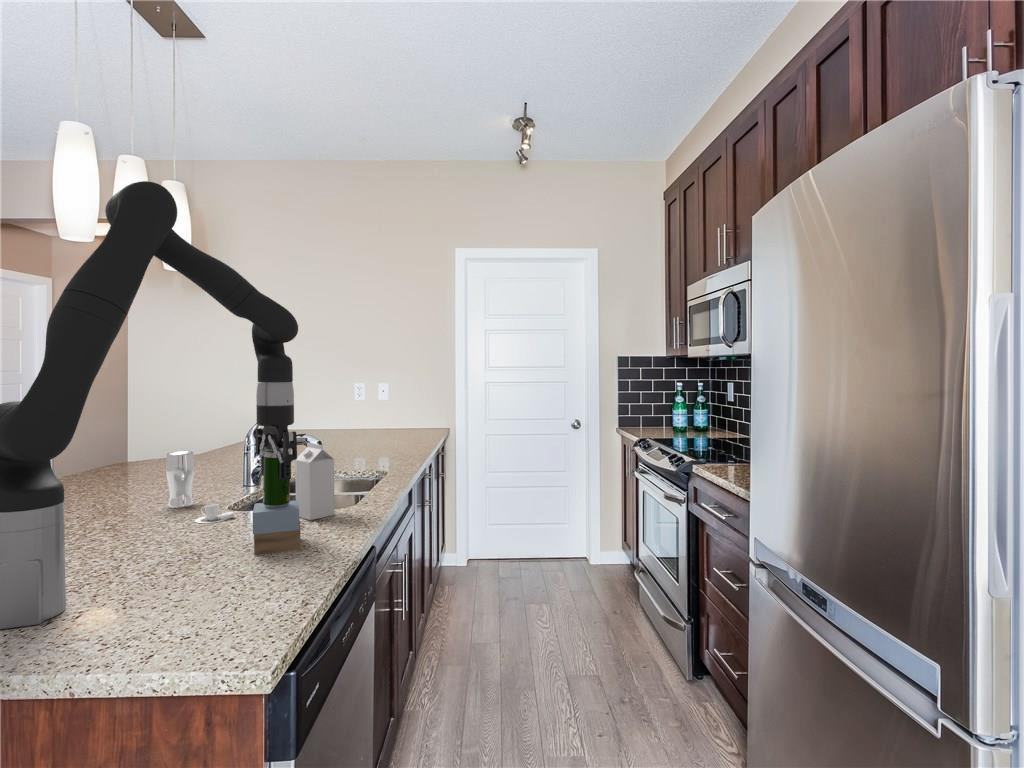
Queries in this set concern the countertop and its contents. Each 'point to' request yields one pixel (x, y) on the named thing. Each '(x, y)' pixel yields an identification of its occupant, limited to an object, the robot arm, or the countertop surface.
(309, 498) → the milk carton
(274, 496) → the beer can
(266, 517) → the slate-blue block
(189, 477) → the beer glass
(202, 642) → the countertop surface
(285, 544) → the walnut block
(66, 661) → the countertop surface
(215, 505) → the teacup and saucer
